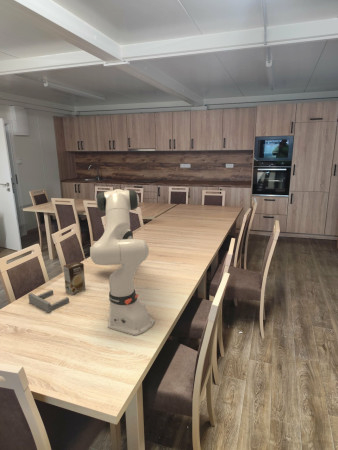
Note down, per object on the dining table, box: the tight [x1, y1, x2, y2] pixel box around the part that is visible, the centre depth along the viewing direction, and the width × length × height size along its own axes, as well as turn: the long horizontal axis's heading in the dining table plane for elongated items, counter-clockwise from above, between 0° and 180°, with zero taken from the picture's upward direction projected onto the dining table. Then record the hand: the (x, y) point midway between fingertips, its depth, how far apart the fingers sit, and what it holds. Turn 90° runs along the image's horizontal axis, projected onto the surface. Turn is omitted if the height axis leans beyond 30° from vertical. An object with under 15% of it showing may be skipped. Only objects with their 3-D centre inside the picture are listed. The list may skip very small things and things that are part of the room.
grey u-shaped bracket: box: [27, 289, 70, 314], centre depth 154 cm, size 18×12×5 cm
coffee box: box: [63, 261, 86, 296], centre depth 165 cm, size 9×6×16 cm
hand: (93, 255), depth 174 cm, fingers closed
